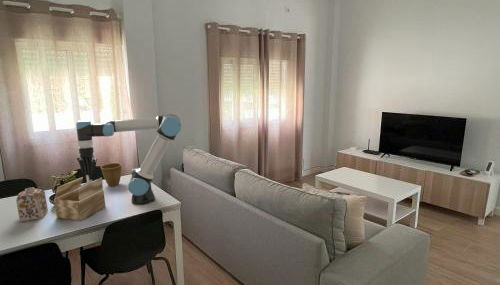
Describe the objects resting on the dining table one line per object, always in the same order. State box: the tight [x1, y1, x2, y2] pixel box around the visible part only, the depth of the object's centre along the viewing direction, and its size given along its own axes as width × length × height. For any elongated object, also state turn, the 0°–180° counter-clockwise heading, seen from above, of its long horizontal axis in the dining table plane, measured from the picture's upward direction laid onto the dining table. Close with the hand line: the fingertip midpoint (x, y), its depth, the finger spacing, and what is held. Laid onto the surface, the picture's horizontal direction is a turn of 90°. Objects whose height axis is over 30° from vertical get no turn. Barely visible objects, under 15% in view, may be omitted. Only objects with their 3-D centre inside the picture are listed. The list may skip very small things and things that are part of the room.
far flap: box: [54, 176, 84, 199], centre depth 188 cm, size 8×19×1 cm
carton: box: [53, 189, 107, 222], centre depth 189 cm, size 18×21×12 cm
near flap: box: [78, 177, 104, 201], centre depth 184 cm, size 8×19×1 cm
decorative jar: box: [15, 186, 49, 222], centre depth 184 cm, size 12×12×18 cm
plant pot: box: [100, 162, 123, 188], centre depth 237 cm, size 15×15×16 cm
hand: (89, 184), depth 184 cm, fingers closed
